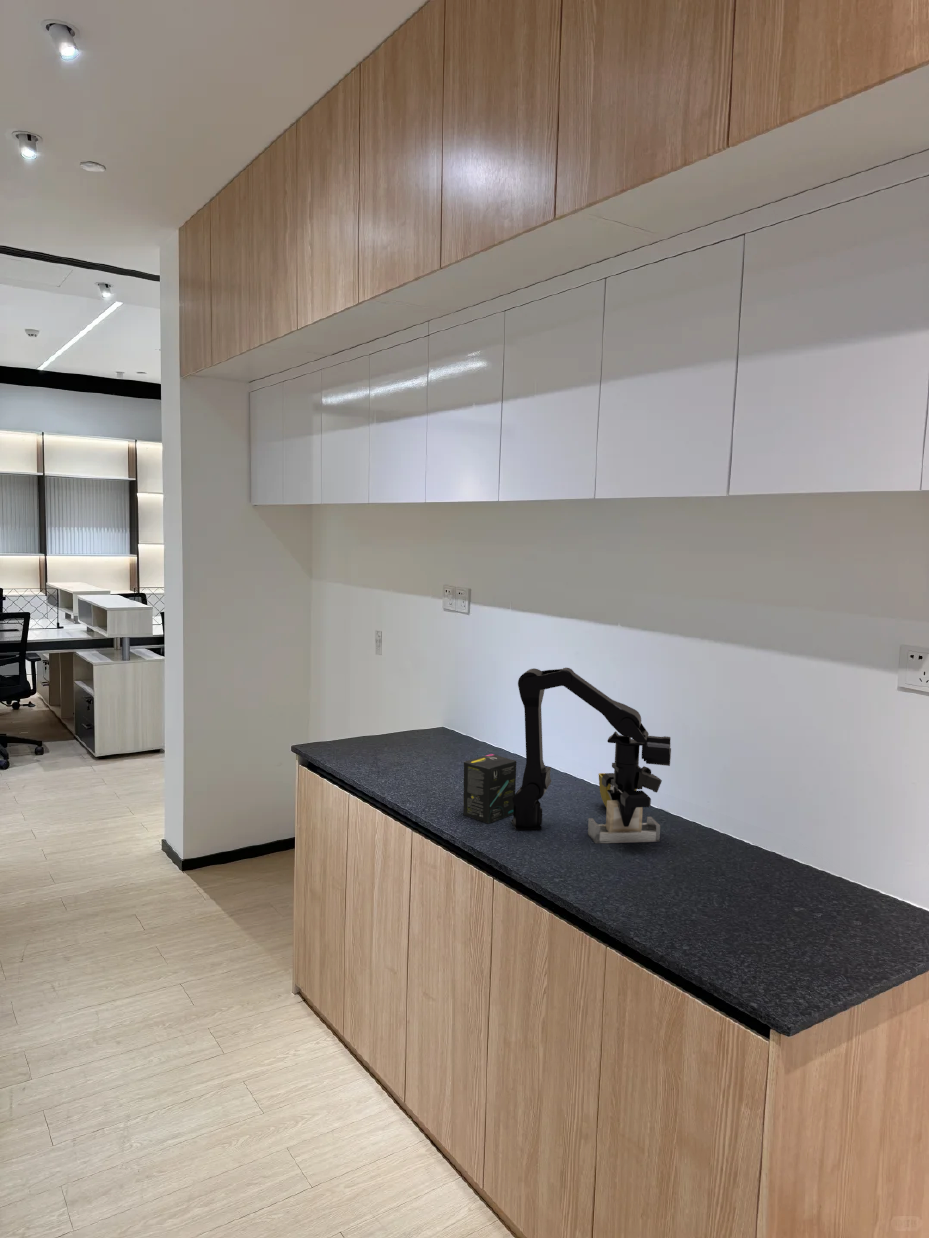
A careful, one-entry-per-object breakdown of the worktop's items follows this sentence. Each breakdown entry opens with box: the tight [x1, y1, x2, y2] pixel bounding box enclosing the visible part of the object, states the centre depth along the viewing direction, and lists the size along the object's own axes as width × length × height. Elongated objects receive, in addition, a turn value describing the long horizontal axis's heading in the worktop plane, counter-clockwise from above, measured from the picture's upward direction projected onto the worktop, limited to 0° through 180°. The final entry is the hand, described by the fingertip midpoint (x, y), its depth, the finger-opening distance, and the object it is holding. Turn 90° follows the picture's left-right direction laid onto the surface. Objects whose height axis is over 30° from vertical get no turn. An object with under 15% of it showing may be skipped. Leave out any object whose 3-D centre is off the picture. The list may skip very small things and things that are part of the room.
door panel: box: [605, 800, 644, 832], centre depth 202 cm, size 8×3×7 cm, turn 98°
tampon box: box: [462, 753, 517, 825], centre depth 216 cm, size 11×9×15 cm
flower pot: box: [598, 772, 638, 809], centre depth 223 cm, size 9×9×9 cm
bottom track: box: [587, 816, 661, 844], centre depth 202 cm, size 16×6×4 cm, turn 98°
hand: (623, 823), depth 202 cm, fingers closed on door panel, 3 cm apart
